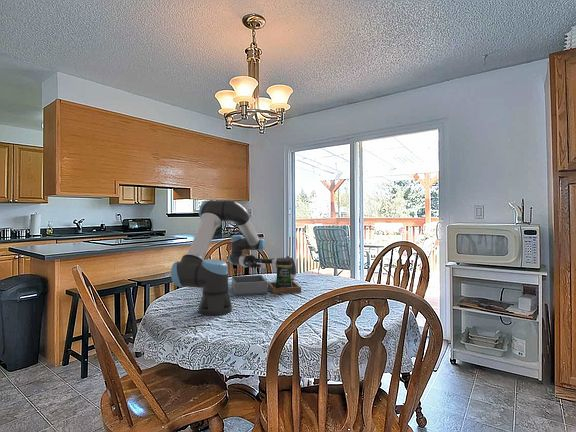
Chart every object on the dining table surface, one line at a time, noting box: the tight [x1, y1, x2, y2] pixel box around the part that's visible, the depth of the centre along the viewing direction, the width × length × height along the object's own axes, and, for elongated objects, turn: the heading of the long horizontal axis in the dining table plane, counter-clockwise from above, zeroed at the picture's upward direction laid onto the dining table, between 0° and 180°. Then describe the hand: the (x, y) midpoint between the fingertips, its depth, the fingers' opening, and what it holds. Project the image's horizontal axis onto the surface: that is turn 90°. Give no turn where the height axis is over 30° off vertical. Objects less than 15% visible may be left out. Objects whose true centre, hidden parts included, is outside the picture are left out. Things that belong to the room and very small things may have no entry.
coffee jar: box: [275, 257, 293, 288], centre depth 196 cm, size 10×8×19 cm
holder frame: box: [268, 280, 302, 295], centre depth 196 cm, size 16×16×3 cm
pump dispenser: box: [285, 255, 298, 280], centre depth 226 cm, size 10×10×15 cm
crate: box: [231, 274, 269, 297], centre depth 193 cm, size 18×18×7 cm
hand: (272, 264), depth 202 cm, fingers open, 13 cm apart
